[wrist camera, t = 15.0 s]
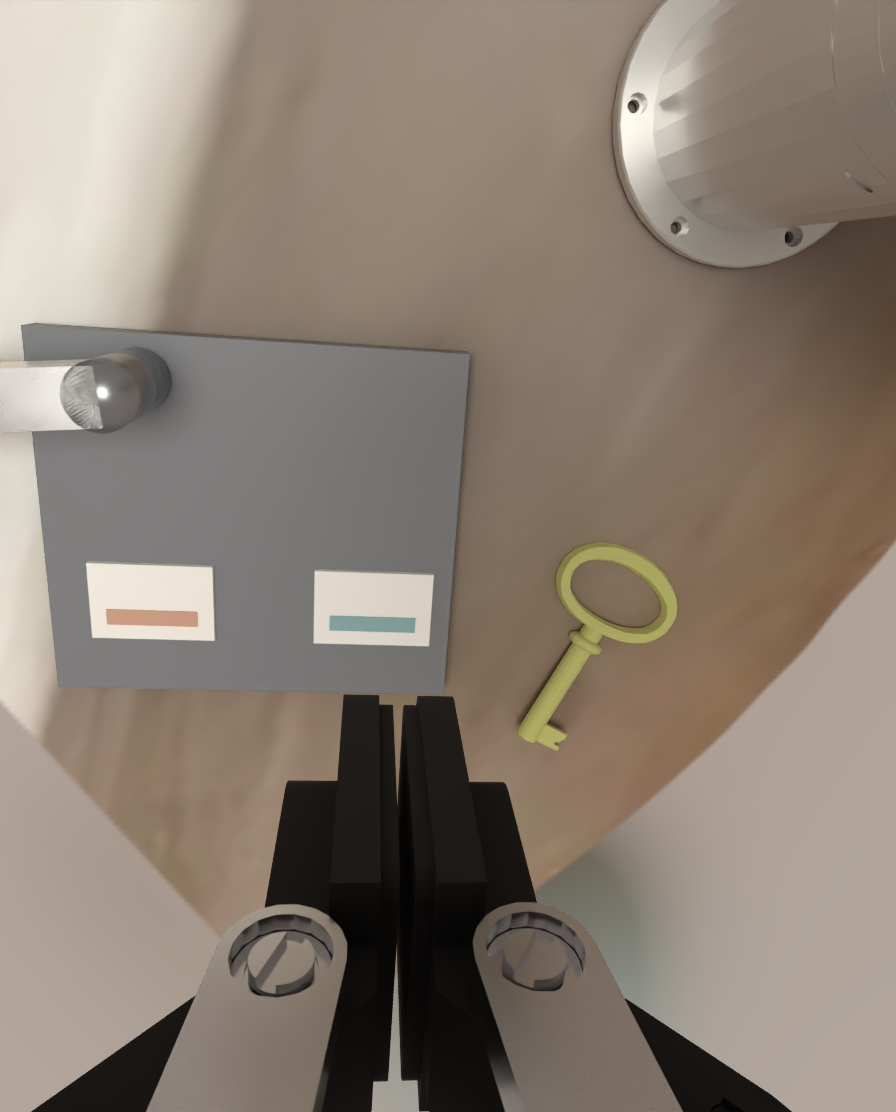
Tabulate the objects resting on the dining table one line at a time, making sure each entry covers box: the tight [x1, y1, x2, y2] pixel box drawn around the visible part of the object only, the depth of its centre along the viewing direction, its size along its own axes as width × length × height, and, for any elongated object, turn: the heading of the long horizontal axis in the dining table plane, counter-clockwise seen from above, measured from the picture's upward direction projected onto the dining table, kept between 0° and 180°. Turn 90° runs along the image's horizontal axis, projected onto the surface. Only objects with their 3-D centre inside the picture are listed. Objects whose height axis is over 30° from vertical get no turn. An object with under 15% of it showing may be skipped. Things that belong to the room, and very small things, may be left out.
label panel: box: [21, 323, 470, 694], centre depth 39 cm, size 20×18×2 cm
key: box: [517, 543, 677, 751], centre depth 44 cm, size 7×12×2 cm, turn 167°
